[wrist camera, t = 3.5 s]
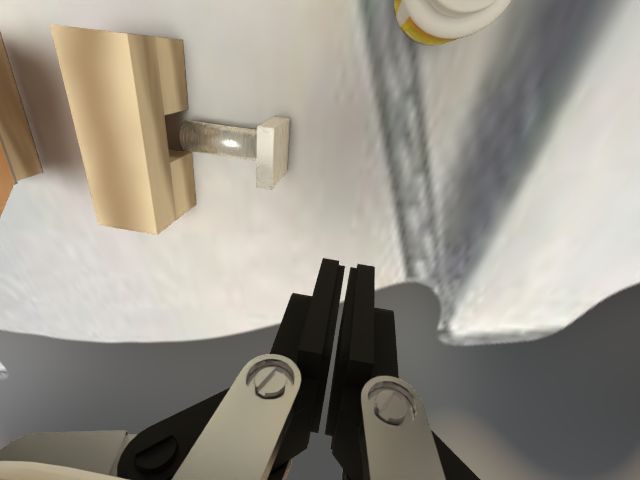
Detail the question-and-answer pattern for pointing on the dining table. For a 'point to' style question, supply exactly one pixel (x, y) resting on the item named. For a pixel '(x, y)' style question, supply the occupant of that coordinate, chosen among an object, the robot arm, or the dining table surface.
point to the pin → (243, 145)
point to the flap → (5, 176)
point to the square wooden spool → (114, 124)
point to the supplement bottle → (445, 18)
